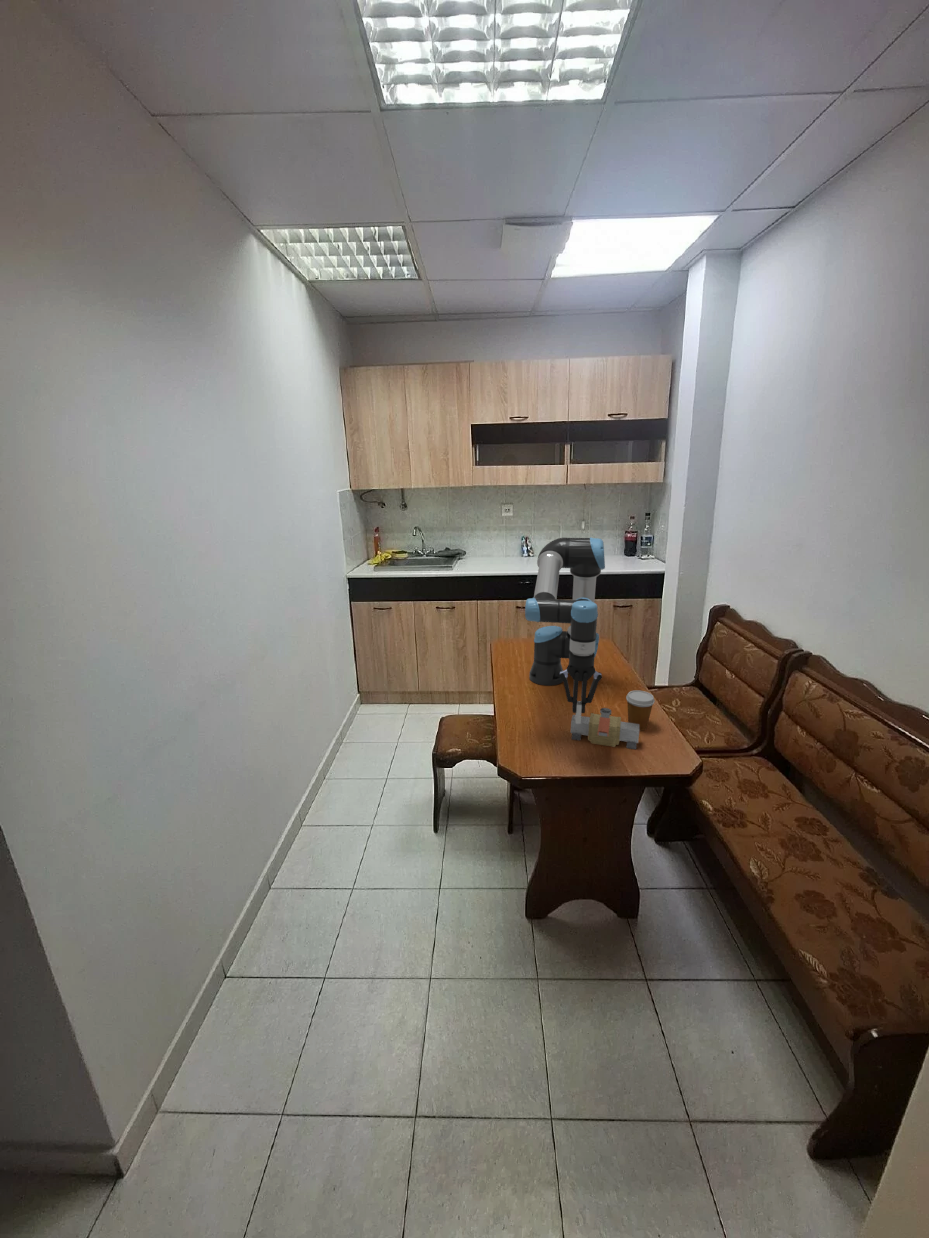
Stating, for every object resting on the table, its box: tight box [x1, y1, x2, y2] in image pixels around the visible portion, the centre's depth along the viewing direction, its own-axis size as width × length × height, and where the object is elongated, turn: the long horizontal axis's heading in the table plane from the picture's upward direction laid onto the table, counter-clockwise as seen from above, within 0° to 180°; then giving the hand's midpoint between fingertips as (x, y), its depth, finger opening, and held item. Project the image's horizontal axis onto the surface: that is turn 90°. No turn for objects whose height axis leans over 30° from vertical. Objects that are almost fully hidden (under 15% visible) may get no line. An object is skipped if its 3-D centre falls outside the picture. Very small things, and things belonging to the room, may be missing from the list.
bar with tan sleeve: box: [570, 712, 640, 750], centre depth 165 cm, size 22×7×10 cm, turn 71°
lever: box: [598, 707, 612, 737], centre depth 157 cm, size 17×4×2 cm, turn 161°
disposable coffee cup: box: [625, 689, 656, 731], centre depth 172 cm, size 10×10×12 cm
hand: (577, 721), depth 154 cm, fingers closed
